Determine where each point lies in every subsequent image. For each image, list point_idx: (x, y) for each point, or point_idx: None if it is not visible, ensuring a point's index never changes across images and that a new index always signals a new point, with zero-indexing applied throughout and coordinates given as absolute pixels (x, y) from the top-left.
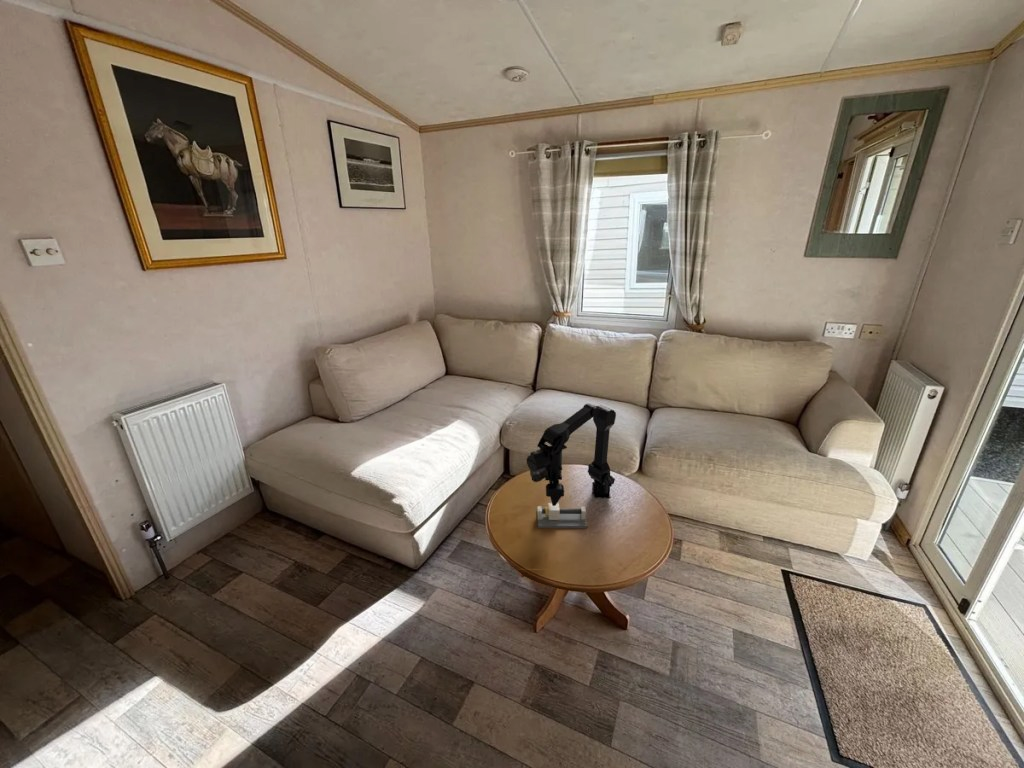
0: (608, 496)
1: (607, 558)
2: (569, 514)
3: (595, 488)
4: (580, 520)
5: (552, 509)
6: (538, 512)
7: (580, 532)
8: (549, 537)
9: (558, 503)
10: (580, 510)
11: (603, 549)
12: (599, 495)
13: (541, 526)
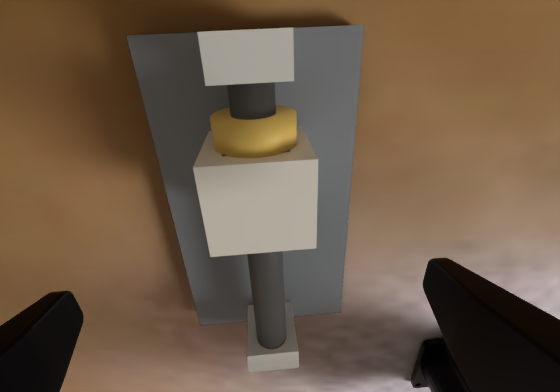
0: (418, 382)
1: None
2: (286, 254)
3: (464, 383)
4: (238, 301)
5: (213, 200)
6: (201, 40)
7: (166, 288)
8: (64, 128)
9: (306, 247)
10: (263, 344)
11: (80, 359)
12: (430, 362)
13: (138, 67)
